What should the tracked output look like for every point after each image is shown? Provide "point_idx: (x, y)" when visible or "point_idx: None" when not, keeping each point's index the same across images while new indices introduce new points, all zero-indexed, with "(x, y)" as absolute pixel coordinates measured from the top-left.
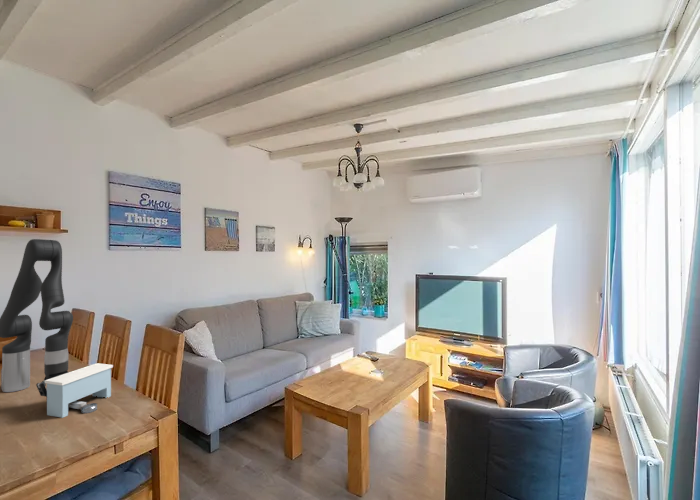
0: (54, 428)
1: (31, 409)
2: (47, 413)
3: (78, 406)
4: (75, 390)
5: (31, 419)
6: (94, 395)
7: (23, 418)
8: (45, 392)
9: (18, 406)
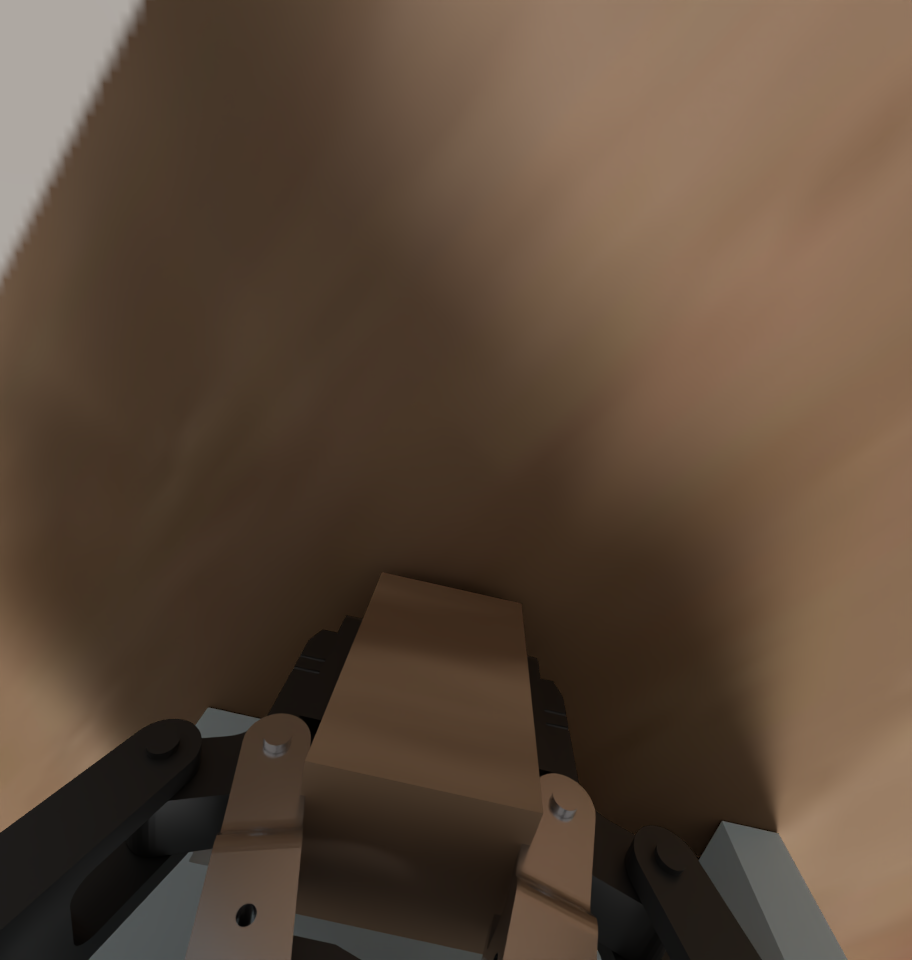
0: None
1: (292, 403)
2: (197, 727)
3: None
4: None
5: (89, 636)
6: (711, 855)
7: (75, 533)
8: (94, 903)
9: (353, 34)
